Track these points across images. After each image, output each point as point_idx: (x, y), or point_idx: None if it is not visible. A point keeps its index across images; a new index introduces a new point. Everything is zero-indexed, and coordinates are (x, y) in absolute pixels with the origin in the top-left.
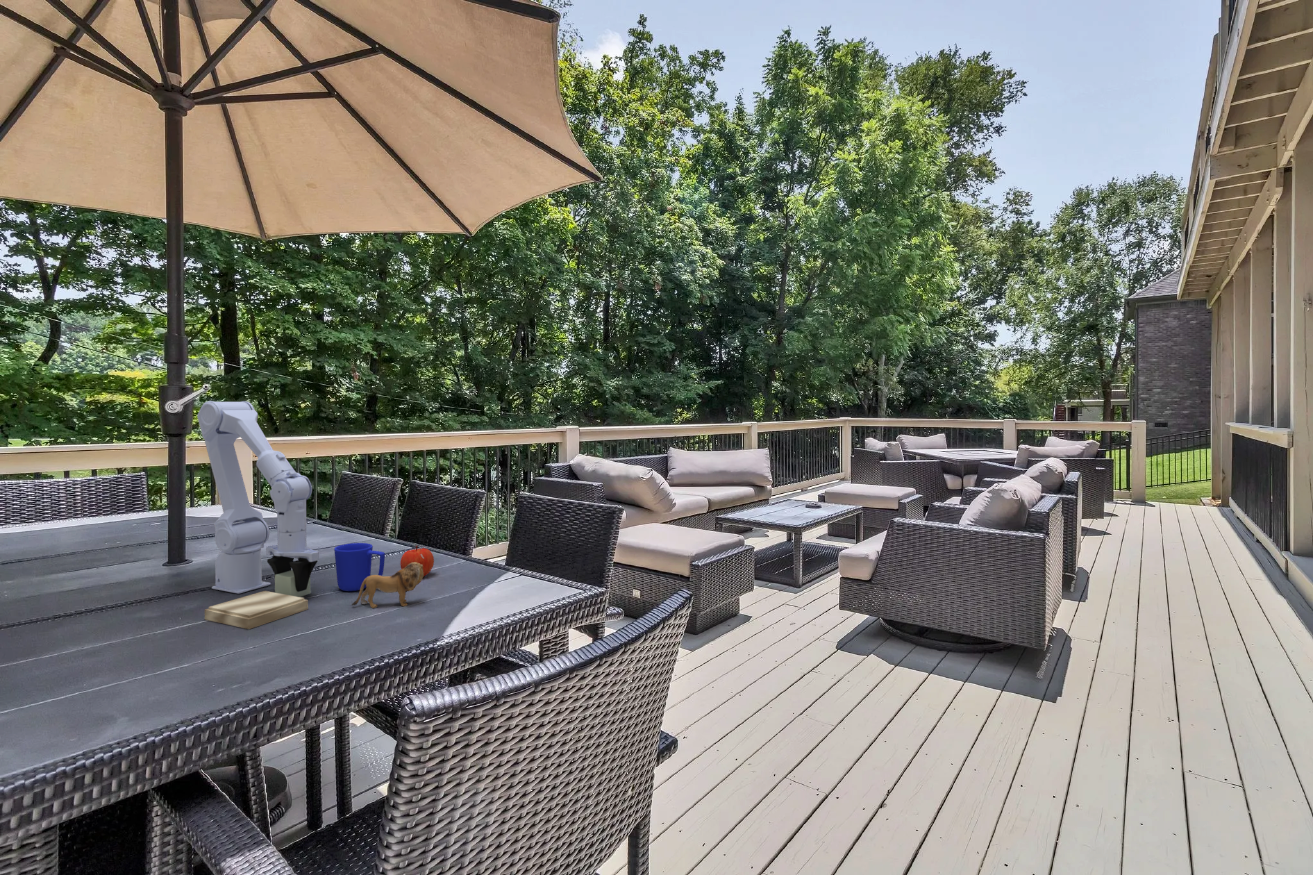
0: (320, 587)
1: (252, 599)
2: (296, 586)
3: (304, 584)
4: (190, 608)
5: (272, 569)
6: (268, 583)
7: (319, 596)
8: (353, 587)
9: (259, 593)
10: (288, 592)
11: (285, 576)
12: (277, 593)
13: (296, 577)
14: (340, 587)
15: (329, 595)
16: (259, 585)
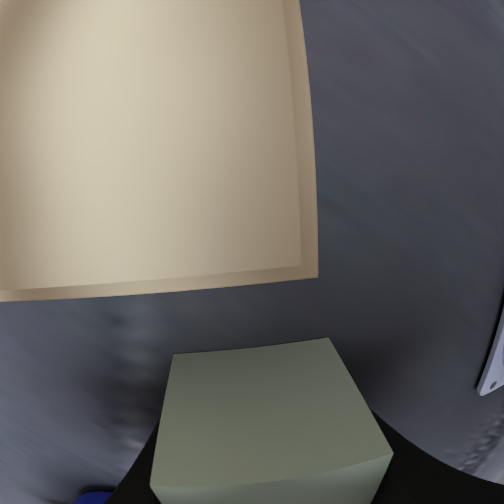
0: None
1: (114, 29)
2: None
3: None
4: (489, 5)
5: (458, 470)
6: (483, 388)
7: (111, 436)
8: (75, 501)
9: (256, 176)
10: (191, 382)
11: (236, 487)
12: (95, 274)
13: (126, 496)
14: None
15: (96, 453)
16: (500, 354)
